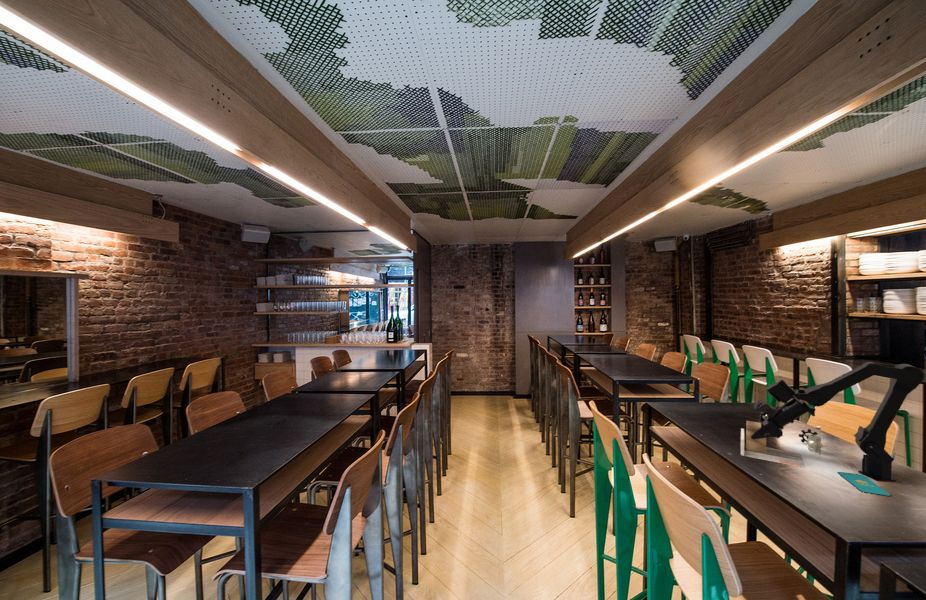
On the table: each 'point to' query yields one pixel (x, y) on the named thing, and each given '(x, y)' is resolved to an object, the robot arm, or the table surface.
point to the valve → (812, 441)
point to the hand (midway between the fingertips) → (751, 435)
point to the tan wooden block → (754, 444)
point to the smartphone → (863, 484)
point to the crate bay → (769, 457)
